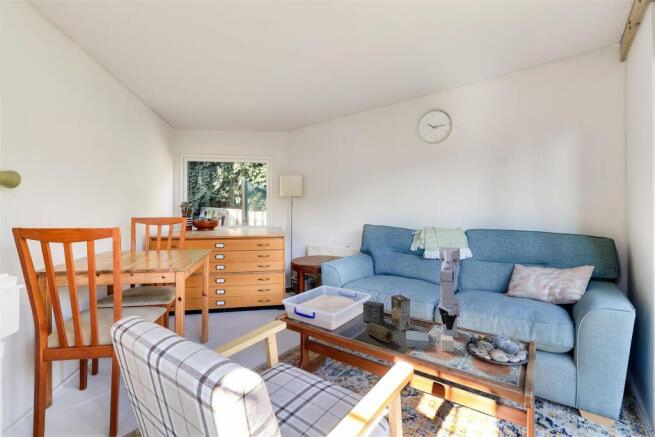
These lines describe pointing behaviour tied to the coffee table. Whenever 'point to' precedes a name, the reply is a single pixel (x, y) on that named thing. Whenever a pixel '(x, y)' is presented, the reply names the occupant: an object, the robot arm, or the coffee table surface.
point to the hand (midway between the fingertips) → (447, 326)
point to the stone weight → (379, 332)
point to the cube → (447, 343)
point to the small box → (373, 312)
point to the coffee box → (400, 312)
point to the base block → (417, 339)
